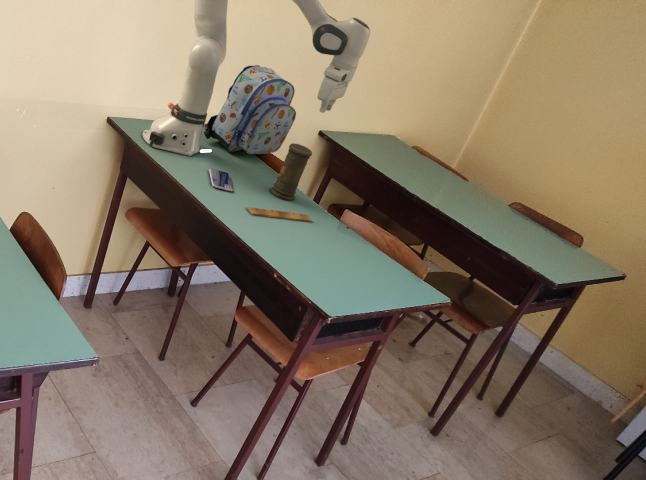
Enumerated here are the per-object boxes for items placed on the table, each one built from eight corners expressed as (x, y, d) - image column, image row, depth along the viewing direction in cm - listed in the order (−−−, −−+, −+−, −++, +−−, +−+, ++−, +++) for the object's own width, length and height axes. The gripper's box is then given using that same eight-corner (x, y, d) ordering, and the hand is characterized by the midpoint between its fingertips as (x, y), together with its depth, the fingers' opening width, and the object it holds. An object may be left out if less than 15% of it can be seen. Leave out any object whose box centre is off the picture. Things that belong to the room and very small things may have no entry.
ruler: (251, 214, 202) (252, 212, 202) (247, 208, 205) (248, 206, 204) (311, 222, 212) (312, 220, 211) (306, 216, 215) (307, 214, 214)
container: (293, 193, 228) (312, 148, 217) (293, 203, 221) (313, 156, 210) (270, 186, 227) (289, 140, 217) (270, 195, 220) (289, 148, 209)
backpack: (243, 167, 234) (272, 85, 216) (195, 138, 245) (220, 57, 226) (288, 159, 257) (318, 84, 239) (243, 133, 268) (269, 59, 249)
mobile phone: (228, 172, 223) (233, 190, 211) (228, 174, 223) (232, 192, 212) (209, 167, 221) (212, 184, 209) (208, 169, 222) (212, 187, 210)
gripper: (342, 66, 218) (326, 104, 227) (323, 69, 203) (307, 110, 211) (358, 73, 217) (341, 111, 225) (340, 77, 201) (323, 118, 209)
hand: (324, 111), depth 218 cm, fingers open, 5 cm apart
